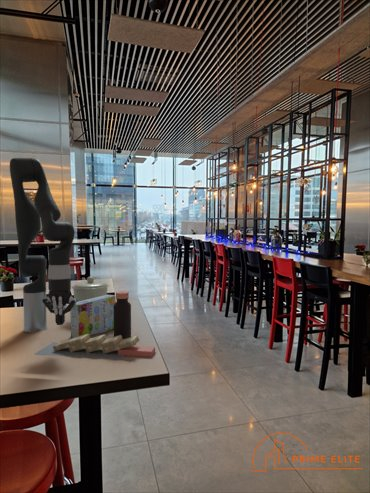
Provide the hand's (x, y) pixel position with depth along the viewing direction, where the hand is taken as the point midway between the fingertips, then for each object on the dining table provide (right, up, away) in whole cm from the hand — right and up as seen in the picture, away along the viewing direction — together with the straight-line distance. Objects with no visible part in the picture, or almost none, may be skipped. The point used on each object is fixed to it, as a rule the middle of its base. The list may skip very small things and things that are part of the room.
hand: (60, 324), depth 114 cm
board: (+9, -10, -1) cm, 14 cm away
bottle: (+21, -10, +10) cm, 25 cm away
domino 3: (+11, -8, -1) cm, 14 cm away
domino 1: (-1, -8, +1) cm, 8 cm away
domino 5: (+22, -8, -3) cm, 24 cm away
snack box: (+6, -10, +22) cm, 24 cm away
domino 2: (+5, -8, 0) cm, 9 cm away
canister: (-3, -8, +47) cm, 48 cm away
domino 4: (+17, -8, -2) cm, 19 cm away
